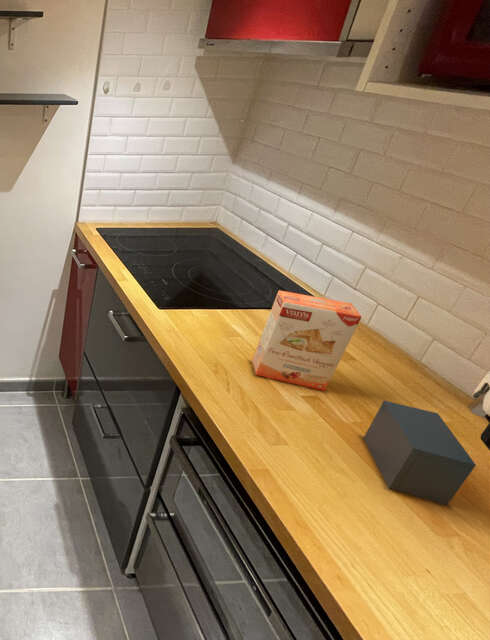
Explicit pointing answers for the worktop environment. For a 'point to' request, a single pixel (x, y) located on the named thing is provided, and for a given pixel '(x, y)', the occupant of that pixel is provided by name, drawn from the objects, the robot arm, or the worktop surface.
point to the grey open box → (417, 452)
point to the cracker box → (304, 339)
